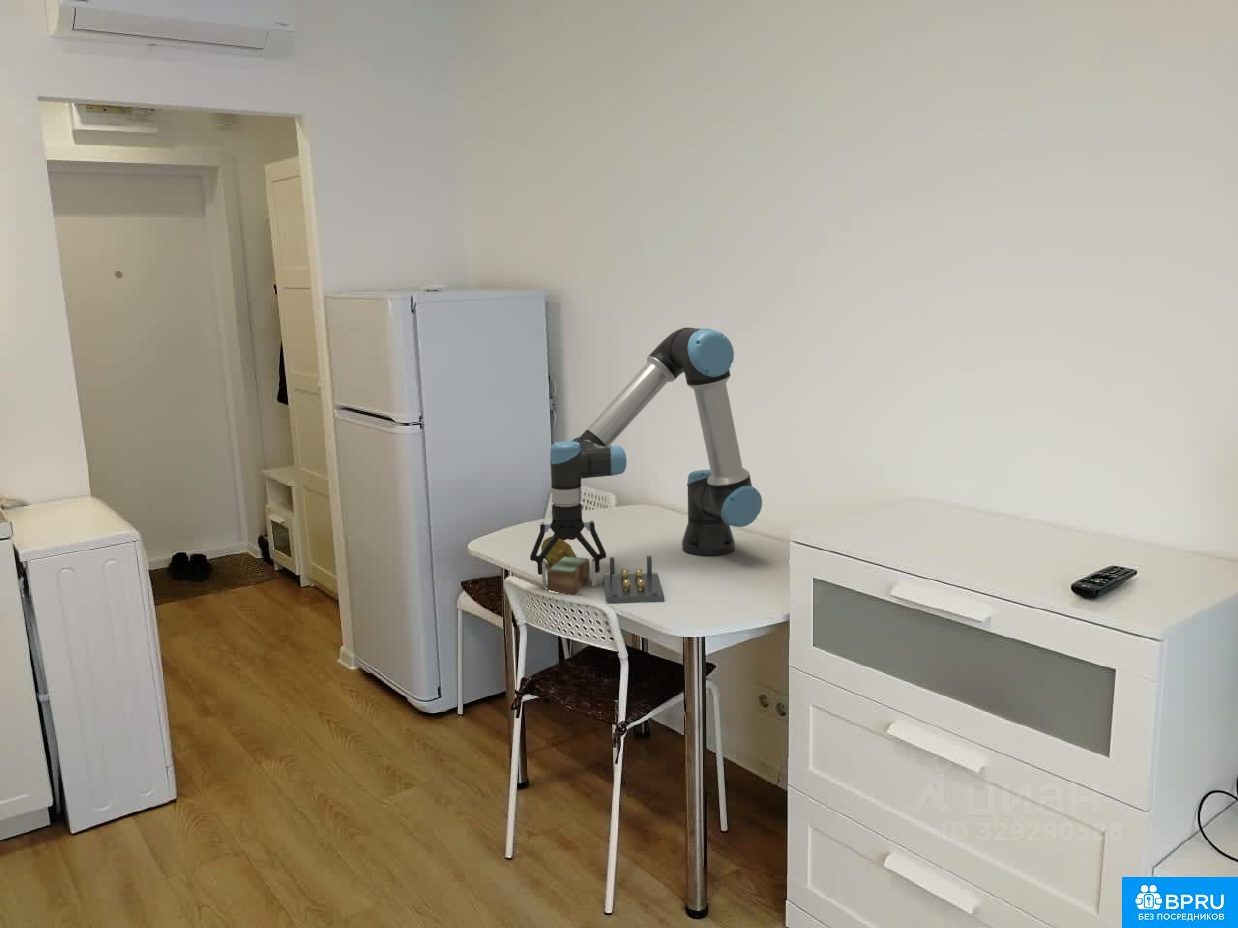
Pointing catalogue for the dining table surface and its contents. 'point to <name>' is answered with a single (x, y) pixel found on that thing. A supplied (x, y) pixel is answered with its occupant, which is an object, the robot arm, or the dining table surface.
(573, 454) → the robot arm
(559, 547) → the potato
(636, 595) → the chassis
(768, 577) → the dining table surface
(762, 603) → the dining table surface
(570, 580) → the block
